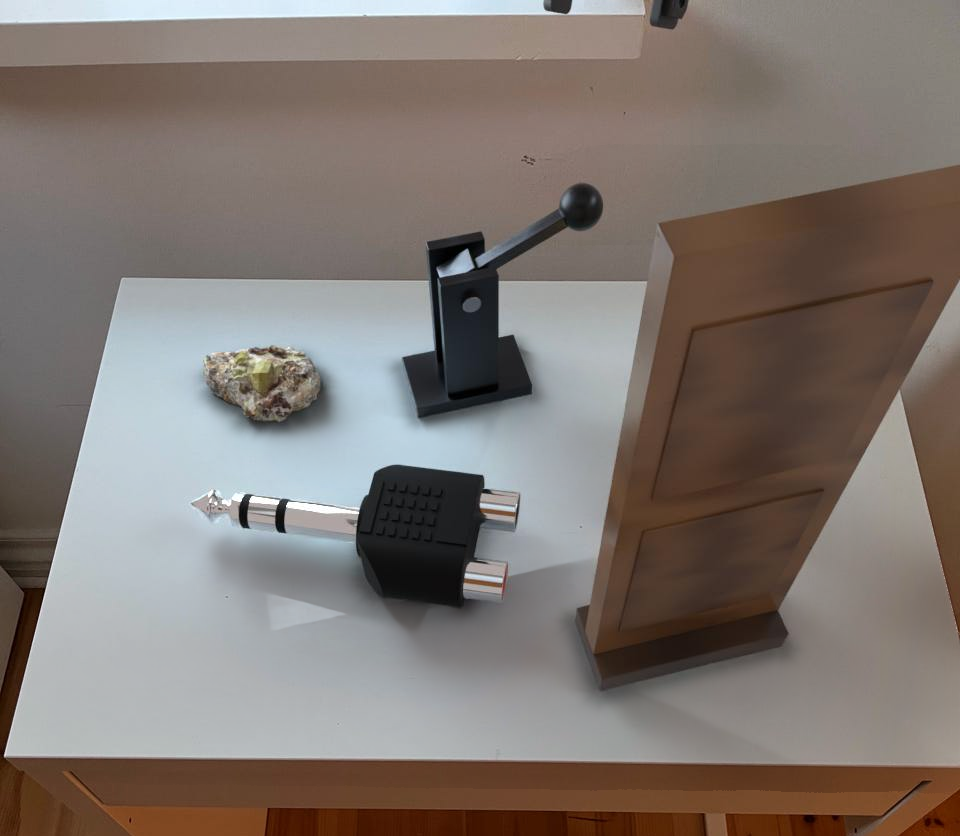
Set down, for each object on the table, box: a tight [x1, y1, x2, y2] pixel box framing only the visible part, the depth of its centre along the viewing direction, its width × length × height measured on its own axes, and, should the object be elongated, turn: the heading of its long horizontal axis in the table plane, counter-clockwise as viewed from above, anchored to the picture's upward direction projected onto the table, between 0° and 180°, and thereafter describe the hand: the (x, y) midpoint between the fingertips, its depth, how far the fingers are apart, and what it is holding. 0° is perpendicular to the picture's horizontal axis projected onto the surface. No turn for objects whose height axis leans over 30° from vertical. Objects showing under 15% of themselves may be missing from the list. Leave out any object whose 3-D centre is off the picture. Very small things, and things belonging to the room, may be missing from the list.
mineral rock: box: [202, 344, 322, 423], centre depth 79 cm, size 11×4×8 cm
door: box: [574, 163, 960, 692], centre depth 52 cm, size 14×6×36 cm, turn 104°
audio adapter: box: [189, 464, 521, 609], centre depth 70 cm, size 11×5×25 cm
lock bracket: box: [401, 230, 533, 419], centre depth 74 cm, size 10×6×13 cm, turn 104°
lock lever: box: [436, 182, 604, 277], centre depth 69 cm, size 13×3×3 cm, turn 105°
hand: (607, 19), depth 60 cm, fingers open, 8 cm apart
